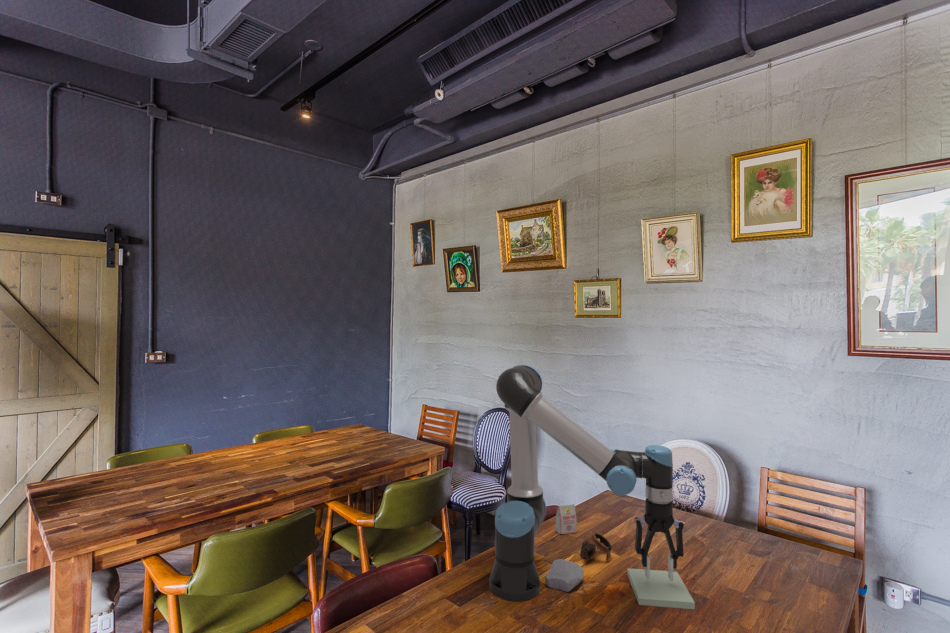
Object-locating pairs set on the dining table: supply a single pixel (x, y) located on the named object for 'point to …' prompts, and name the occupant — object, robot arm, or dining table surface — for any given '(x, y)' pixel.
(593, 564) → the dining table surface
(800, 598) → the dining table surface
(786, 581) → the dining table surface
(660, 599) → the base
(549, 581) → the stone block
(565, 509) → the white food box
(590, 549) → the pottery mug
